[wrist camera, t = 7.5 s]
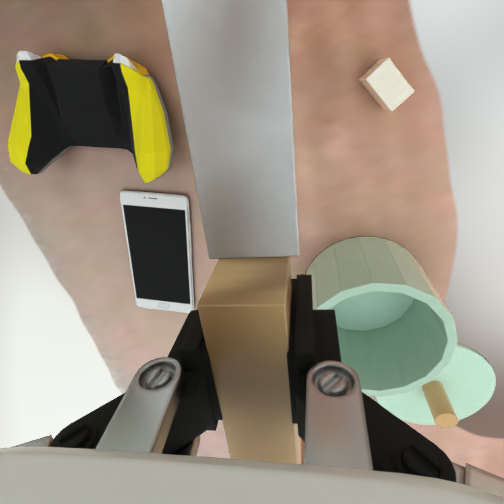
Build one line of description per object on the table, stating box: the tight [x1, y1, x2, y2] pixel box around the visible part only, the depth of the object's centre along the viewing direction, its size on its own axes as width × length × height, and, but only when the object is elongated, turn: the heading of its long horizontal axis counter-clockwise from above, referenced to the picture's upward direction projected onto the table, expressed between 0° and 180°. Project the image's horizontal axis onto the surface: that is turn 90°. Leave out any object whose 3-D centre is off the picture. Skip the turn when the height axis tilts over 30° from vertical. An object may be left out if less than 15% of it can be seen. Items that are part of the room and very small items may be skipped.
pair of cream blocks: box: [359, 57, 415, 112], centre depth 29 cm, size 17×3×4 cm, turn 136°
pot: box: [306, 237, 458, 397], centre depth 33 cm, size 13×13×9 cm
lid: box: [375, 343, 496, 428], centre depth 39 cm, size 14×14×6 cm
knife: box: [161, 0, 301, 464], centre depth 9 cm, size 3×19×3 cm, turn 7°
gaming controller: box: [8, 51, 174, 183], centre depth 30 cm, size 15×6×10 cm
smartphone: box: [120, 190, 194, 313], centre depth 38 cm, size 8×1×15 cm
